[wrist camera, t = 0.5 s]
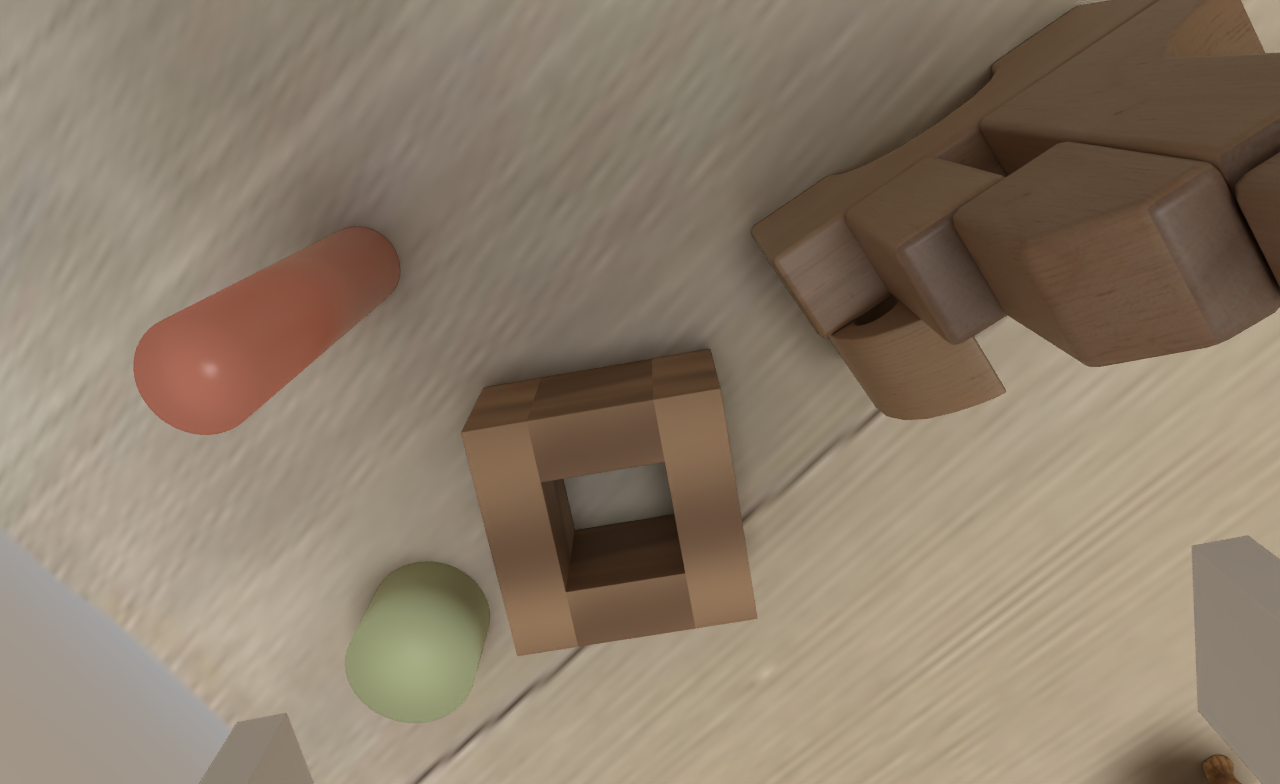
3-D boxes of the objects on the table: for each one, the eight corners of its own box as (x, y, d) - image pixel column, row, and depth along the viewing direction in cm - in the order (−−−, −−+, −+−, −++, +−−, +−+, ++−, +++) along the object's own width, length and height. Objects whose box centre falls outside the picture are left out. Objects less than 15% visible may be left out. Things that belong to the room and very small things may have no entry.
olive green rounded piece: (359, 571, 40) (329, 622, 37) (475, 552, 40) (457, 602, 36) (389, 672, 42) (364, 731, 38) (501, 654, 42) (487, 712, 38)
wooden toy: (840, 369, 38) (1185, 875, 14) (747, 228, 36) (957, 527, 12) (1207, 136, 35) (2427, 264, 11) (1125, -29, 33) (2361, -299, 9)
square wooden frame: (483, 387, 38) (460, 432, 33) (710, 348, 37) (720, 388, 32) (532, 588, 40) (517, 655, 36) (743, 554, 40) (757, 618, 35)
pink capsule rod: (310, 234, 36) (115, 326, 23) (388, 220, 36) (238, 304, 22) (332, 311, 37) (157, 443, 23) (408, 298, 37) (276, 423, 23)
